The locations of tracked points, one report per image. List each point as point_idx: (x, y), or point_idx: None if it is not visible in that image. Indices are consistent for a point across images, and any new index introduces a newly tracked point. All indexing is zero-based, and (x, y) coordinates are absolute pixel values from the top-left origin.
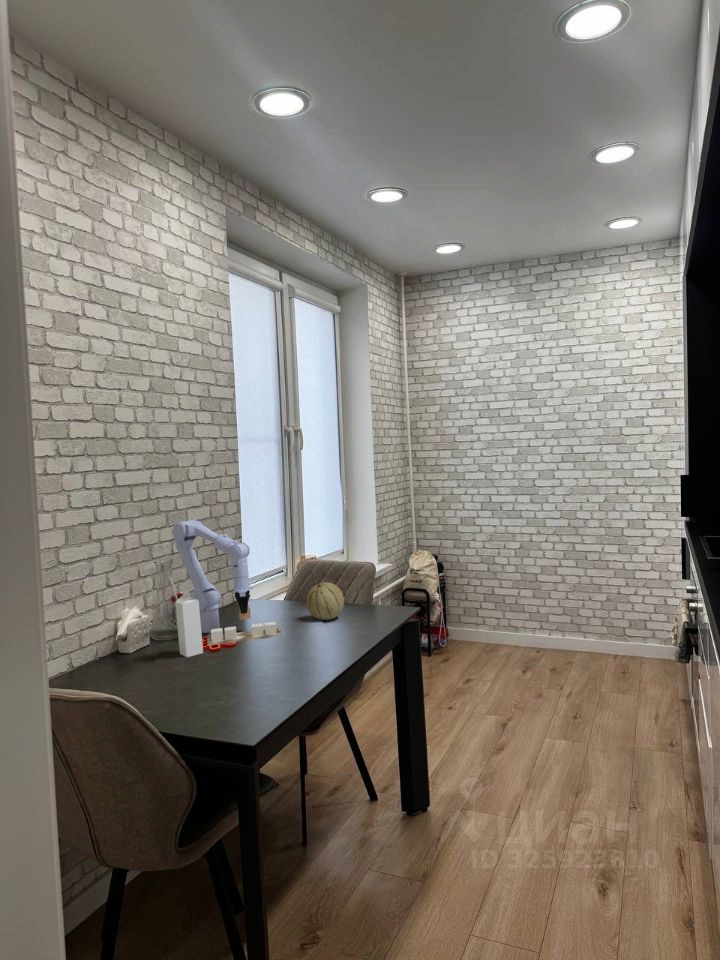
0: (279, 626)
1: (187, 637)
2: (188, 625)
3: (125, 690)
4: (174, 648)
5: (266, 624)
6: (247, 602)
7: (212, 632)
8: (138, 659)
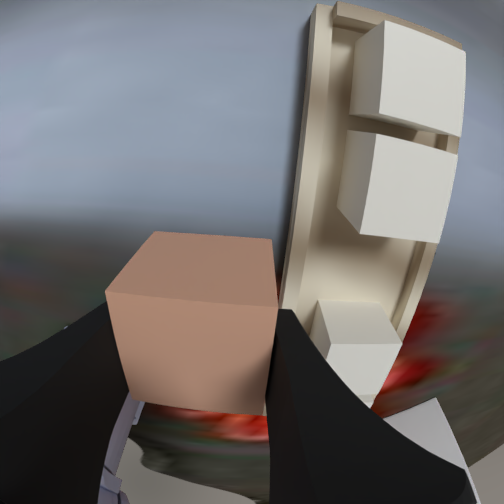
0: (349, 4)
1: None
2: None
3: (488, 451)
4: None
5: (438, 115)
6: (366, 412)
7: None
8: None
